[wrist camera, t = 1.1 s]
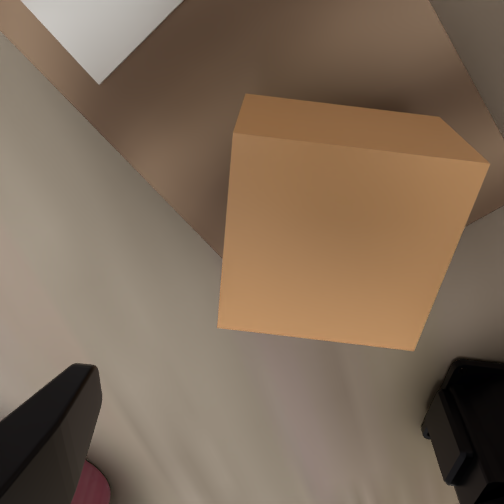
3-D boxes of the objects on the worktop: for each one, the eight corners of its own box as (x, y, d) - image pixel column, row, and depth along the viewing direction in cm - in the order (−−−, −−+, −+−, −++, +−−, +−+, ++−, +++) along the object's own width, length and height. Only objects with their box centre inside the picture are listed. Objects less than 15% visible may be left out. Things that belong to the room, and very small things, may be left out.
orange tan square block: (439, 116, 14) (490, 163, 10) (387, 275, 17) (413, 351, 14) (245, 93, 14) (232, 132, 10) (230, 256, 17) (217, 327, 13)
